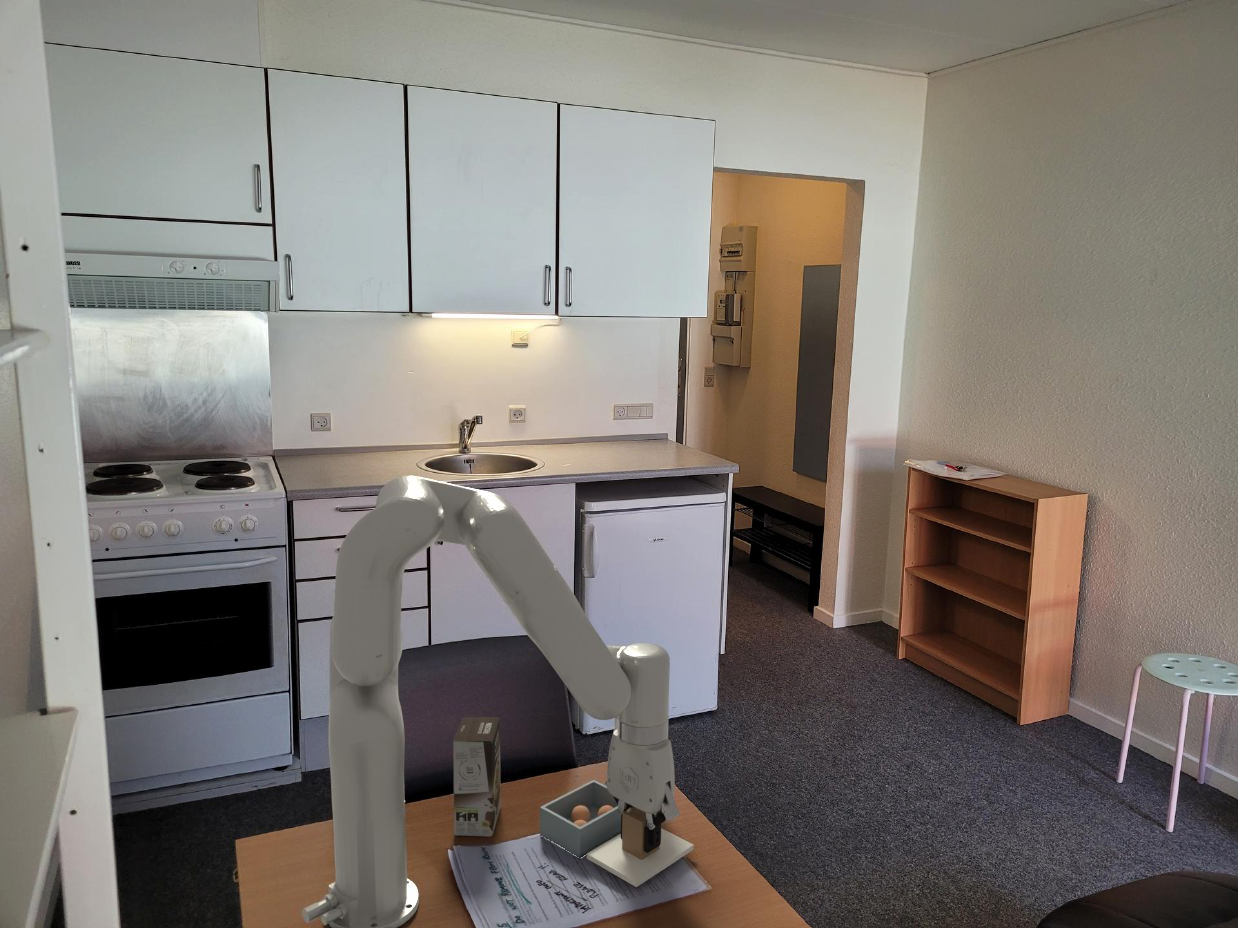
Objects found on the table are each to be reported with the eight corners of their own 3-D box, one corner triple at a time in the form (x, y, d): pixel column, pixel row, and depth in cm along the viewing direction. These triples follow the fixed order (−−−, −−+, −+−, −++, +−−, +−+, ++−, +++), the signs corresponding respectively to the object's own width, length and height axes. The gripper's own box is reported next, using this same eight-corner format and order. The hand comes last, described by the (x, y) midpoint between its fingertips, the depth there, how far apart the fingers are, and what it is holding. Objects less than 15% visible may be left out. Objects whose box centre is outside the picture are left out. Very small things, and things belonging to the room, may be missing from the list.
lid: (636, 887, 131) (637, 843, 130) (586, 858, 138) (587, 816, 137) (693, 849, 140) (694, 808, 139) (644, 824, 147) (645, 784, 146)
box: (580, 859, 140) (580, 829, 139) (540, 836, 146) (540, 806, 145) (633, 828, 148) (633, 799, 147) (593, 807, 154) (593, 779, 154)
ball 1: (580, 831, 146) (580, 813, 145) (567, 823, 148) (567, 806, 147) (593, 823, 148) (593, 806, 147) (580, 816, 150) (580, 799, 149)
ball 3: (607, 831, 146) (607, 813, 145) (593, 823, 148) (593, 806, 147) (620, 823, 148) (620, 806, 148) (606, 816, 150) (606, 799, 150)
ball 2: (580, 846, 142) (580, 828, 141) (566, 838, 144) (566, 821, 143) (593, 838, 144) (594, 821, 143) (580, 831, 146) (580, 813, 145)
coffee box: (493, 837, 145) (492, 741, 143) (453, 836, 145) (451, 740, 143) (502, 806, 154) (501, 715, 152) (463, 805, 154) (462, 715, 152)
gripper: (584, 718, 139) (583, 830, 142) (669, 755, 127) (666, 876, 130) (618, 703, 144) (617, 811, 147) (703, 738, 133) (699, 854, 136)
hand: (640, 841), depth 139 cm, fingers closed on lid, 3 cm apart
